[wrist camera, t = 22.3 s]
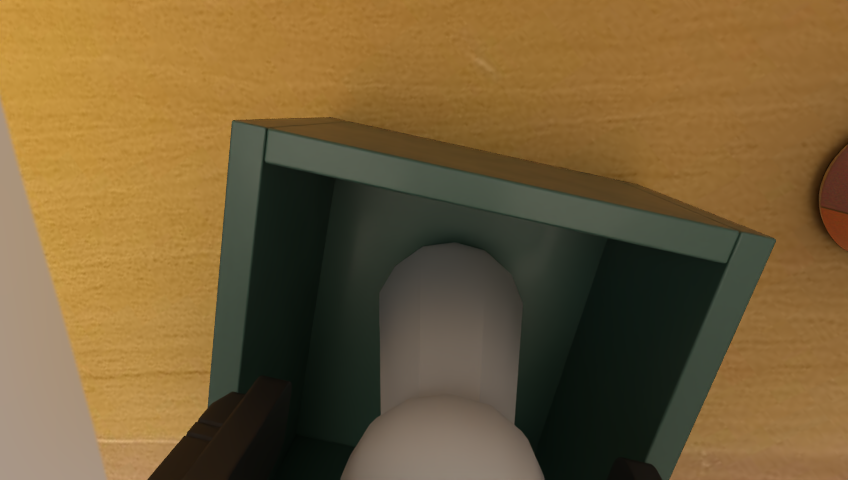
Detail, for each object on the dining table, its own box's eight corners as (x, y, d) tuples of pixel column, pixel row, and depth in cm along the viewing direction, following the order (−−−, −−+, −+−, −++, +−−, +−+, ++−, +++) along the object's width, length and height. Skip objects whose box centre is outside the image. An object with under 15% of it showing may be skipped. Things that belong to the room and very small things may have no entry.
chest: (328, 117, 20) (231, 119, 11) (638, 184, 20) (778, 239, 11) (283, 432, 24) (190, 603, 16) (533, 488, 24) (574, 692, 16)
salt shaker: (362, 292, 21) (220, 556, 8) (445, 201, 20) (422, 359, 7) (455, 370, 22) (452, 718, 9) (542, 288, 20) (677, 569, 8)
